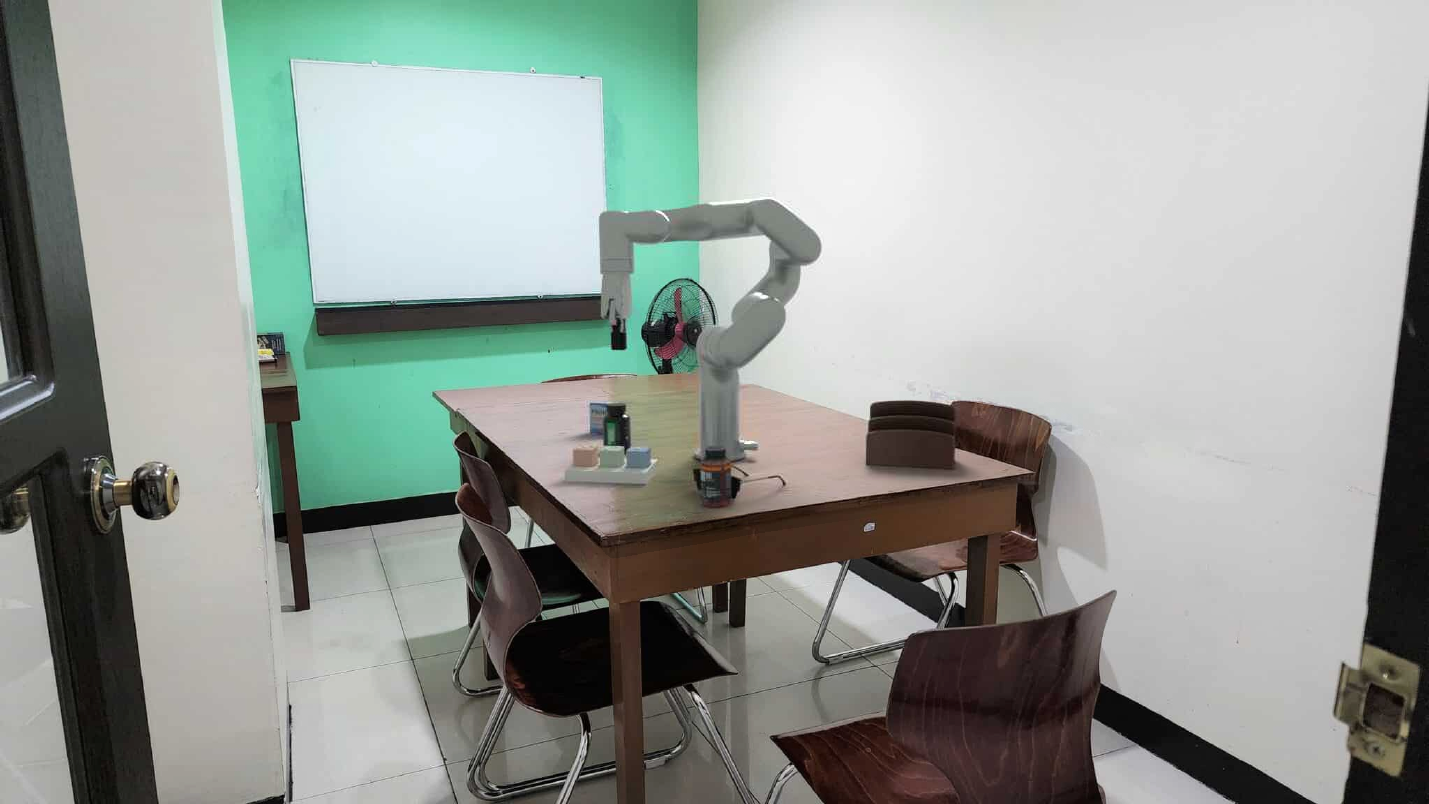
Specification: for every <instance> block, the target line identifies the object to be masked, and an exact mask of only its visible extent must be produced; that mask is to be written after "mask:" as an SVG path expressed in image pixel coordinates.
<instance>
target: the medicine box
mask: <svg viewBox="0 0 1429 804" xmlns="http://www.w3.org/2000/svg"><path fill="white" fill-rule="evenodd" d="M609 403H623V402H622V401H605V400H593V401H591V402H589V434H591V433H597V434H596V435H603V417H604V416H605V415H607V412H606V405H607V404H609Z"/></svg>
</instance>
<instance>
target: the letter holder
mask: <svg viewBox="0 0 1429 804" xmlns="http://www.w3.org/2000/svg"><path fill="white" fill-rule="evenodd" d="M956 414H957V410H956V407H955V406H954V405H951V404H947V403H941V402H935V401H926V400H925V401H924V400H913V399H912V400H911V399H910V400H906V399H905V400H901V399H900V400H884V401H875V402H872V403H871V404H870V407H869V420H868V421H867V423H868V424H867V433H866V436H865V445H866V446H865V465H867V466H880V465H881V467H883V466H884V467H900V468H901V467H902V468H916V467H917V468H918V469H920V468H921V469H935V470H937V469H940V470H953V469H954V470H955V461H956V458H955V457H956V419H957V415H956Z"/></svg>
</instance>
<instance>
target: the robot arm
mask: <svg viewBox="0 0 1429 804" xmlns="http://www.w3.org/2000/svg"><path fill="white" fill-rule="evenodd" d="M598 231H599V232H598V234H599V235H598V237H599V272H600V273H599V275H602V279H601V290H600V293H601V295H600V296H601V297H600V298H601V299H600V317H601V318H602V319H603V320H607V319H609V322H608V323H609V325H610V326H609V327H610V348H611V351H625V350H627V349H628V345H627V344H628V343H627V342H628V341H627V340H628V339H627V321H628V320H627V319H628V318H629V317H631V316H632V313H633V311H632V310H633V300H632V299H633V298H632V297H633V296H632V295H633V293H632V279H631V275H635V260H634V258H635V256H634V255H635V254H634V247H635V246H634V244H636V245H640V246H645V245H651V246H653V245H658V244H663V243H674V242H711V241H720V240H728V239H729V240H730V239H738V238H740V239H741V238H749V237H750V238H751V237H759V236H761V237H762V236H765V238H767V239H768V240H769V241H770V242H769V247H768V255H769V266H768V268H767V269H768V270H767V271H766V273H765V275H764V276H763V277H762V278H761V279H760V280H759V281H758V282H757V283H756V284H755V285H754V286H753V287H751V288H750V290H749V291H748V292H747V293H745V294H744V295H743V296H742V297H741V298H740V299H739V300H738V301H737V302H736V303H735V304H734V306H733V307H732V311H731V316H730V317H731V323H732V324H731V325H730V326H728V325H725V324H713V325H710V326H707V327H706V328H704V329H703V330H702V331H701V333H700V334H699V335H698V337H697V341H696V345H695V346H696V359H697V366H698V374H699V375H698V376H699V377H698V378H699V435H700V436H699V439H700V440H699V441H700V443H699V444H700V447H699V448H697V449H695V450H694V451H693V456H694V458H695V459H697V460H702V459H703V458H704V457H705V456H706V455H705V448H706V447H709V446H723V447H725V448H726V454H725V455H726V457H727V458H729V459H730V461H731V462H732V461H738V460H742V459H744V458H745V457H747V451H755V452H756V451H758V450H759V443H758V442H755V441H750V440H749V441H745V440H744V439H743V435H740V429H741V428H740V424H741V423H740V422H741V421H740V417H741V416H740V391H741V389H740V388H741V387H740V375H739V369H743V368H744V367H746V366H747V365H749V363H751V362H752V361H753V360H754V359H755V358H756V357H757V356H758V355H759V354H760V353H761V352H763V350H764V349H765V348H766V347H767V346H768V345H769V344H771V343H772V341H774V340H775V339H776V337H778V335H780V333H781V332H782V330H783V328H784V326H785V323H786V320H787V312H786V308H785V306H786V305H787V304H788V303H789V302H790V301H791V300H792V299H793V298H794V296H795V295H796V293H797V291H798V290H799V286H800V281H801V276H802V275H801V274H802V273H801V272H802V271H801V269H802V267H807V266H809V265H810V266H811V264H814V263H816V261H817V260H818V259H819V257H820V256H821V253H822V247H823V246H822V242H821V239H820V236H819V235H818V233H816V231H815V230H814V229H812V228H811V226H809V225H808V223H806V222H804V221H803V220H802V219H801V218H800V217H798V215H797V214H795V212H793V211H792V210H791V209H789V208H788V207H787V206H786V205H784V203H782V201H781V202H780V200H778V199H776V198H773V197H769V196H768V197H762V198H761V197H760V198H753V199H742V200H739V199H738V200H730V201H717V202H707V203H706V202H705V203H699V204H693V205H691V206H684V207H678V208H672V209H671V208H669V209H660V210H655V209H649V210H641V211H625V210H605V211H602V212H600V214H599V216H598Z"/></svg>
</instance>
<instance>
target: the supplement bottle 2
mask: <svg viewBox="0 0 1429 804" xmlns="http://www.w3.org/2000/svg"><path fill="white" fill-rule="evenodd" d="M725 454H726V448H725V447H723V446H709V447H706V448H705V455H706V456H705V457H704V458H703V459H702V460H701V461H700V469H701V491H700V495H701V496H700V499H701V501H700V502H701V504H702V505H703V506H704V507H707V508H708V507H709V508H712V509H713V508H714V509H715V508H716V509H717V508H724V507H728V506H729V505H731V503H732V500H733V499H732V496H731V476H732V467H731V465H732V461H730V459H729V458H727V457H726V455H725Z"/></svg>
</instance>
